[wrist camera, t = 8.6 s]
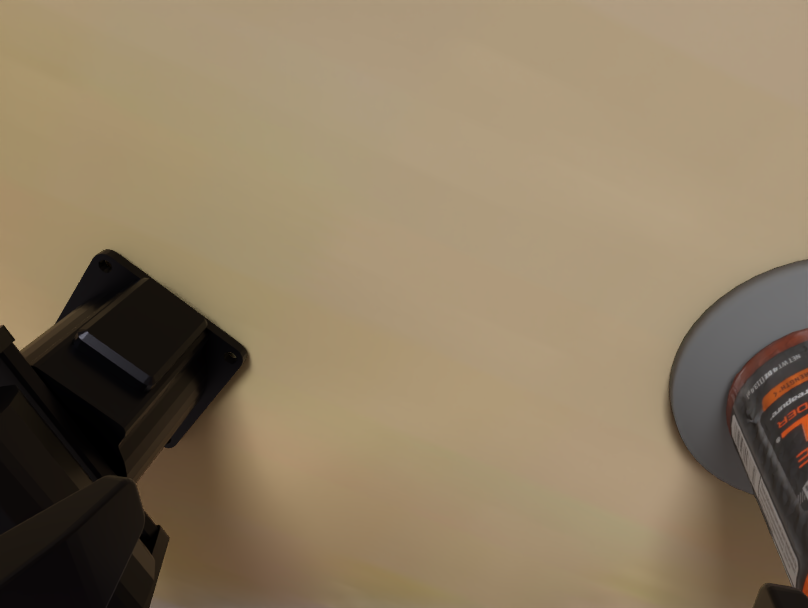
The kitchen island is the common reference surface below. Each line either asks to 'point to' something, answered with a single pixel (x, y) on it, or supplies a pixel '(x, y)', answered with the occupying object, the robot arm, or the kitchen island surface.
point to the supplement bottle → (776, 443)
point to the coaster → (731, 361)
